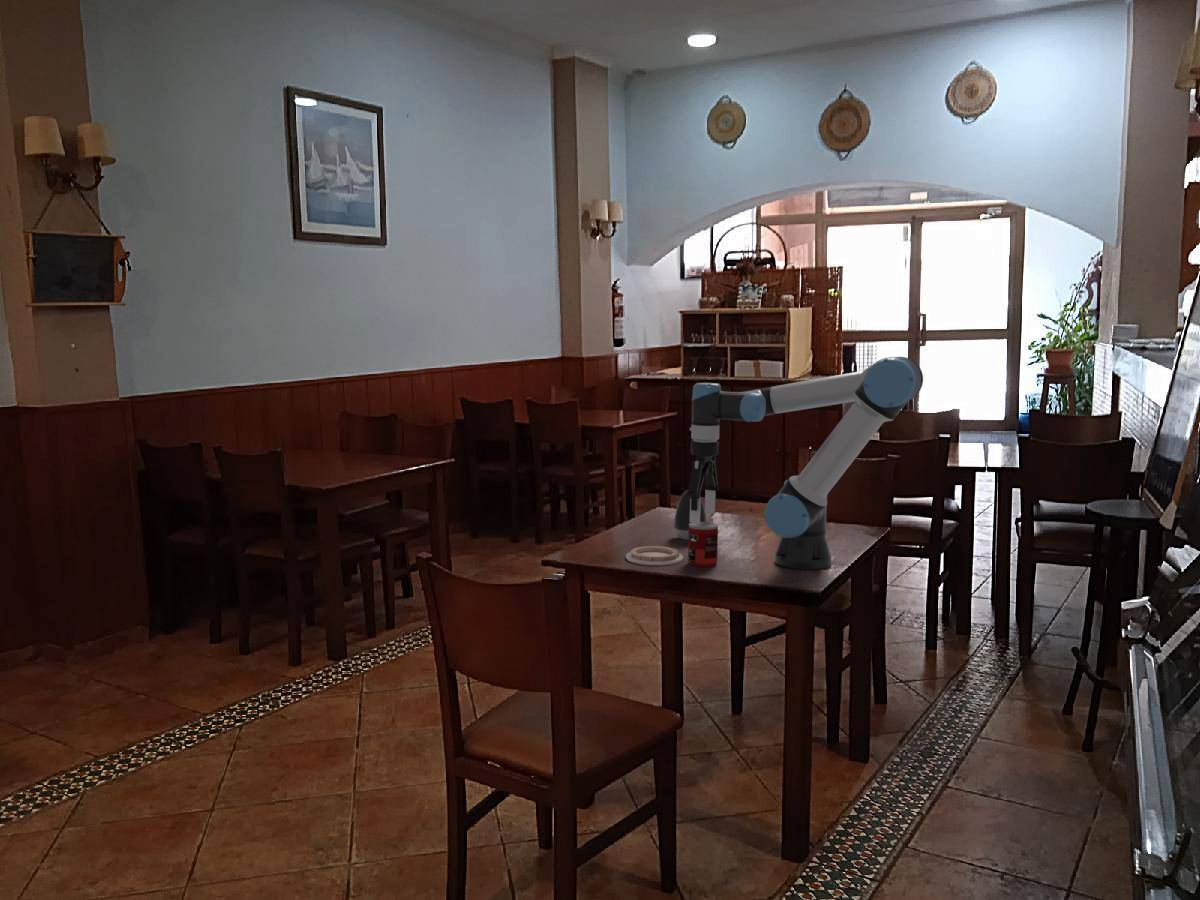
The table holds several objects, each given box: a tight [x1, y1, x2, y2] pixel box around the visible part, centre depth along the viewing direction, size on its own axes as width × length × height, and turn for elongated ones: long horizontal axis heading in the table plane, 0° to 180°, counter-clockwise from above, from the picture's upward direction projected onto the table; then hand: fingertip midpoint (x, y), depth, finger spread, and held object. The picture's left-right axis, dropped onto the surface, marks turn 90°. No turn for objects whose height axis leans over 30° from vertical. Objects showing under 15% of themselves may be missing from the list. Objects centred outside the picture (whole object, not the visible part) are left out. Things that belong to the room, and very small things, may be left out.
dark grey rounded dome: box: [673, 489, 708, 541], centre depth 292 cm, size 10×10×15 cm
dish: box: [625, 545, 684, 567], centre depth 267 cm, size 16×16×2 cm
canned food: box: [687, 521, 719, 568], centre depth 261 cm, size 8×8×11 cm
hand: (702, 517), depth 260 cm, fingers open, 13 cm apart
